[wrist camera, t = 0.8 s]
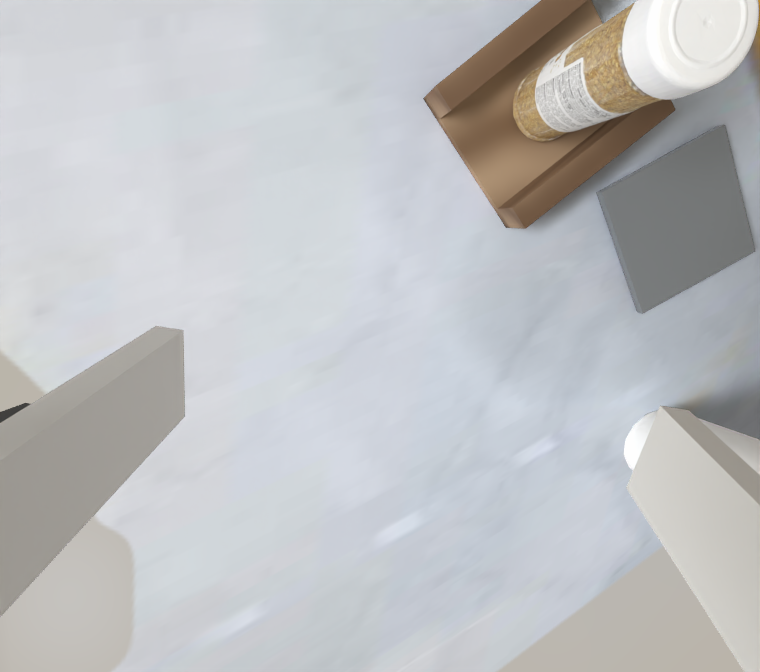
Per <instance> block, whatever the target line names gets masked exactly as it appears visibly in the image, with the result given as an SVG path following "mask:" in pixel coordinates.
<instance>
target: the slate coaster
mask: <svg viewBox="0 0 760 672" xmlns="http://www.w3.org/2000/svg"><path fill="white" fill-rule="evenodd" d="M597 195H598V198H599V201H600V204H601V207H602V210H603V213H604V216H605V219H606V222H607V225H608V228H609V231H610V234H611V236H612V239H613V242H614V245H615V248H616V251H617V254H618V257H619V260H620V263H621V266H622V269H623V272H624V275H625V278H626V280H627V283H628V286H629V289H630V292H631V295H632V298H633V301H634V304H635V307H636V310H637V312H639V313H642V314H643V313H645V312H646V311H648V310H650V309H652V308H654V307H655V306H657V305H659V304H661V303H663V302H665V301H666V300H668V299H670V298H672V297H674V296H675V295H677V294H679V293H681V292H683V291H684V290H686V289H688V288H690V287H692V286H693V285H695V284H697V283H699V282H701V281H702V280H704V279H706V278H708V277H710V276H712V275H713V274H715V273H717V272H719V271H721V270H722V269H724V268H726V267H728V266H730V265H731V264H733V263H735V262H737V261H739V260H740V259H742V258H744V257H746V256H748V255H749V254H751V253H753V252H755V248H754V244H753V240H752V236H751V231H750V227H749V223H748V219H747V215H746V211H745V207H744V202H743V198H742V194H741V190H740V186H739V182H738V178H737V174H736V169H735V165H734V161H733V157H732V153H731V149H730V145H729V141H728V136H727V132H726V128H725V125H721V126H717V127H715V128H713V129H712V130H710V131H708V132H706V133H704V134H702V135H701V136H699V137H697V138H695V139H693V140H692V141H690V142H688V143H686V144H684V145H682V146H681V147H679V148H677V149H675V150H673V151H671V152H670V153H668V154H666V155H664V156H662V157H661V158H659V159H657V160H655V161H653V162H651V163H650V164H648V165H646V166H644V167H642V168H640V169H639V170H637V171H635V172H633V173H631V174H629V175H628V176H626V177H624V178H622V179H620V180H619V181H617V182H615V183H613V184H611V185H609V186H608V187H606V188H604V189H602V190H600V191H598V192H597Z"/></svg>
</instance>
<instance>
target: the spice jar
mask: <svg viewBox="0 0 760 672" xmlns="http://www.w3.org/2000/svg"><path fill="white" fill-rule="evenodd" d="M758 19H759V3H758V0H637V1H636V2H635V3H633V4H632V5H630V6H629V7H627V8H626V9H625V10H623V11H621V12H620V13H619V14H617V15H616V16H614V17H612V18H611V19H610V20H608V21H607V22H605V23H603V24H601V25H600V26H598V27H596V28H595V29H593V30H592V31H590V32H589V33H587V34H586V35H584V36H583V37H581V38H580V39H579V40H577V41H576V42H574V43H573V44H571V45H570V46H568V47H567V48H566V49H564V50H563V51H561V52H560V53H558V54H557V55H556V56H554V57H553V58H552V59H550V60H549V61H548V62H547V63H546V64H545V65H543V66H542V67H539V68H537V69H535V70H533V71H531V72H530V73H529V74H528V75H526V76H525V78H524V79H523V80H522V81H521V82H520V83H519V86H518V88H517V90H516V92H515V96H514V101H513V116H514V119H515V121H516V123H517V126H518V127H519V129H520V130H521V132H522V133H523V134H524V135H526V137H527V138H530V139H532V140H535V141H540V142H544V141H552V140H554V139H556V138H559V137H560V136H562V135H563V134H565V133H567V132H574V131H577V130H581V129H583V128H586V127H589V126H592V125H595V124H598V123H601V122H604V121H607V120H610V119H613V118H616V117H619V116H622V115H625V114H628V113H630V112H633V111H635V110H637V109H639V108H640V107H643V106H645V105H648V104H651V103H654V102H657V101H660V100H670V99H678V98H681V97H684V96H687V95H690V94H693V93H696V92H699V91H701V90H704V89H706V88H709V87H711V86H713V85H715V84H718V83H719V82H721V81H722V80H724V79H725V78H727V77H728V76H729V75H730V74H731V73H732V72H734V71H735V70H736V68H737V67H738V66H739V65H740V64H741V63H742V61H743V60H744V58H745V57H746V55H747V53H748V51H749V50H750V47H751V45H752V43H753V40H754V37H755V34H756V30H757V26H758Z"/></svg>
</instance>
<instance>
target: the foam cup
mask: <svg viewBox="0 0 760 672" xmlns="http://www.w3.org/2000/svg"><path fill="white" fill-rule="evenodd" d="M657 412H658V410H657V411H654V412H651V413H648V414H646V415H645V416H644V417H643V418H641V419H640V420H639V421H638V422H637V423H635V424H634V425H633V427H632V429H631V431H630V432H629V434H628V436H627V438H626V440H625V449H624V456H625V458H626V461H627V463H628V466H629V467H630V468H631V469H632V470H634V468H635V465H636V463H637V461H638V458H639V456H640V453H641V451H642V448H643V446H644V444H645V441H646V439H647V436H648V434H649V431H650V429H651V427H652V424H653V422H654V419H655V417H656V414H657ZM698 419H699V418H698ZM699 420H700V421H701V422H702V423H703V424H704V425H705V426H707V427H708V428H709V429H710V430H711V431H712V432H713V433H714V434H715V435H716V436H717V437H719V438H720V439H721V440H722V441H723V442H724V443H725V444H726V445H727V446H728V447H730V448H731V449H732V450H733V451H734V452H735V453H736V454H737V455H738V456H739V457H741V458H742V459H743V460H744V461H745V462H746V463H747V464H748V465H749V466H750V467H751V468H753V469H754V470H755V471H756V472H757V473H758V474H759V475H760V440H759V439H756V438H754V437H751V436H748V435H745V434H742V433H739V432H736V431H734V430H731V429H728V428H725V427H722V426H719V425H716V424H714V423H711V422H708V421H705V420H702V419H699Z"/></svg>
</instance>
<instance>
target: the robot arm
mask: <svg viewBox="0 0 760 672" xmlns="http://www.w3.org/2000/svg"><path fill="white" fill-rule="evenodd" d="M184 417H185V390H184V341H183V330H178V329H172V328H166V327H159V326H155V327H154V328H152V329H151V330H149V331H147V332H146V333H144V334H143V335H141V336H139V337H138V338H136V339H134V340H133V341H131V342H130V343H128V344H126V345H125V346H123V347H122V348H120V349H118V350H117V351H115V352H114V353H112V354H110V355H109V356H107V357H106V358H104V359H102V360H101V361H99V362H98V363H96V364H94V365H93V366H91V367H90V368H88V369H86V370H85V371H83V372H81V373H80V374H78V375H77V376H75V377H73V378H72V379H70V380H69V381H67V382H65V383H64V384H62V385H61V386H59V387H57V388H56V389H54V390H53V391H51V392H49V393H48V394H46V395H45V396H43V397H41V398H40V399H38V400H37V401H35V402H33V403H32V404H28V403H24V404H22V405H19V406H16V407H13V408H10V409H8V410H5V411H2V412H0V617H1V616H2V615H3V614H4V612H5V611H6V610H7V609H8V608H9V607H10V606H11V605H12V604H13V603H14V602H15V600H16V599H17V598H18V597H19V596H20V595H21V594H22V593H23V592H24V591H25V590H26V588H27V587H28V586H29V585H30V584H31V583H32V582H33V581H34V580H35V578H36V577H38V576H39V574H40V573H41V572H42V571H43V570H44V569H45V568H46V567H47V566H48V565H49V564H50V563H51V561H52V560H53V559H54V558H55V557H56V556H57V555H58V554H59V553H60V552H61V551H62V549H63V548H64V547H65V546H66V545H67V544H68V543H69V542H70V541H71V540H72V538H73V537H74V536H75V535H76V534H77V533H78V532H79V531H80V530H81V529H82V528H83V526H84V525H85V524H86V523H87V522H88V521H89V520H90V519H91V518H92V517H93V516H94V515H95V514H96V512H97V511H98V510H99V509H100V508H101V507H102V506H103V505H104V504H105V503H106V502H107V501H108V499H109V498H110V497H111V496H112V495H113V494H114V493H115V492H116V491H117V490H118V489H119V487H120V486H121V485H122V484H123V483H124V482H125V481H126V480H127V479H128V478H129V477H130V476H131V474H132V473H133V472H134V471H135V470H136V469H137V468H138V467H139V466H140V465H141V464H142V462H143V461H144V460H145V459H146V458H147V457H148V456H149V455H150V454H151V453H152V452H153V451H154V449H155V448H156V447H157V446H158V445H159V444H160V443H161V442H162V441H163V440H164V439H165V437H166V436H167V435H168V434H169V433H170V432H171V431H172V430H173V429H174V428H175V427H176V426H177V424H178V423H179V422H180V421H181V420H182V419H183V418H184ZM626 488H627V490H628V491H629V493H630V495H631V496H632V498H633V499H634V501H635V502H636V504H637V505H638V507H639V509H640V510H641V512H642V513H643V515H644V516H645V518H646V519H647V521H648V523H649V524H650V526H651V527H652V529H653V530H654V532H655V534H656V535H657V537H658V538H659V540H660V541H661V543H662V544H663V546H664V548H665V549H666V551H667V552H668V554H669V555H670V557H671V558H672V560H673V562H674V563H675V565H676V566H677V568H678V569H679V571H680V572H681V574H682V576H683V577H684V579H685V580H686V582H687V583H688V585H689V587H690V588H691V590H692V591H693V593H694V594H695V596H696V597H697V599H698V601H699V602H700V604H701V605H702V607H703V608H704V610H705V611H706V613H707V615H708V616H709V618H710V619H711V621H712V622H713V624H714V625H715V627H716V629H717V630H718V632H719V633H720V635H721V636H722V638H723V640H724V641H725V643H726V644H727V646H728V647H729V649H730V650H731V652H732V654H733V655H734V656H735V658H736V660H737V661H738V663H739V664H740V666H741V668H742V669H743V671H744V672H760V475H759V474H758V473H757V472H756V471H755V470H754V469H753V468H751V467H750V466H749V465H748V464H747V463H746V462H745V461H744V460H743V459H742V458H741V457H739V456H738V455H737V454H736V453H735V452H734V451H733V450H732V449H731V448H730V447H728V446H727V445H726V444H725V443H724V442H723V441H722V440H721V439H720V438H719V437H717V436H716V435H715V434H714V433H713V432H712V431H711V430H710V429H709V428H708V427H707V426H705V425H704V424H703V423H702V422H701V421H700V420H699V419H698V418H697V417H696V416H694V415H693V414H692V413H691V412H690V411H689V410H684V409H678V408H672V407H665V406H660V407H659V410H658V412H657V414H656V417H655V419H654V422H653V424H652V427H651V429H650V431H649V434H648V436H647V439H646V441H645V444H644V446H643V448H642V451H641V453H640V456H639V458H638V461H637V463H636V465H635V468H634V470H633V473H632V475H631V478H630V480H629V483H628V485H627V487H626Z"/></svg>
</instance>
